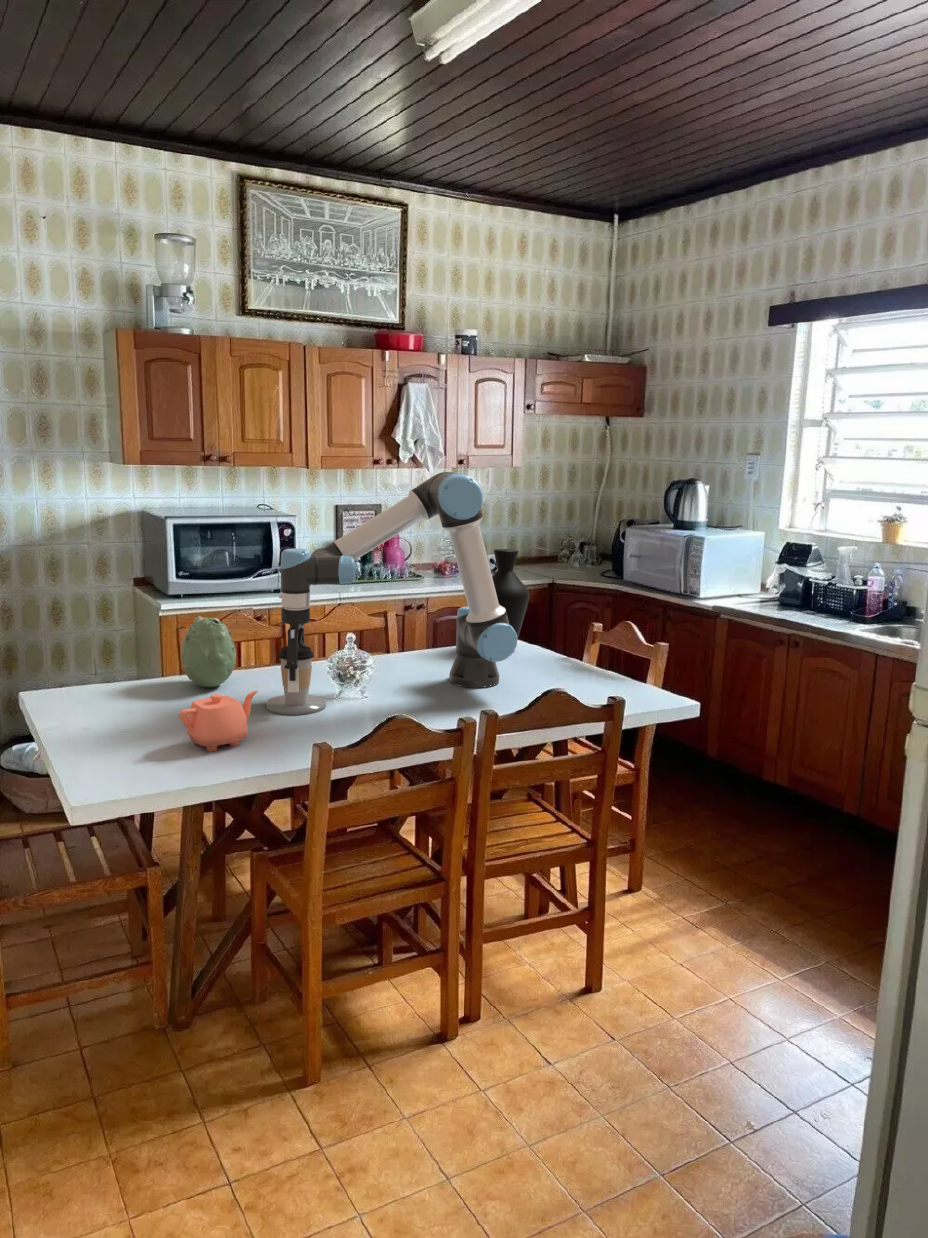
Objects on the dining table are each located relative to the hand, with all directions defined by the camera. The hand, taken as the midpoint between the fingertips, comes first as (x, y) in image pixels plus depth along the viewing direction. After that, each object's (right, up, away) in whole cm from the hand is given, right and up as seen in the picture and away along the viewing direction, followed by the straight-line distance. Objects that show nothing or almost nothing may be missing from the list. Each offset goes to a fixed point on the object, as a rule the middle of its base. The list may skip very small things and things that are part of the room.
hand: (296, 684), depth 247 cm
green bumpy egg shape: (-28, -2, +17) cm, 33 cm away
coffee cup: (0, -5, +1) cm, 5 cm away
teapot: (-13, -12, -29) cm, 34 cm away
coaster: (0, -6, +1) cm, 6 cm away
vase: (+58, +6, +70) cm, 91 cm away
